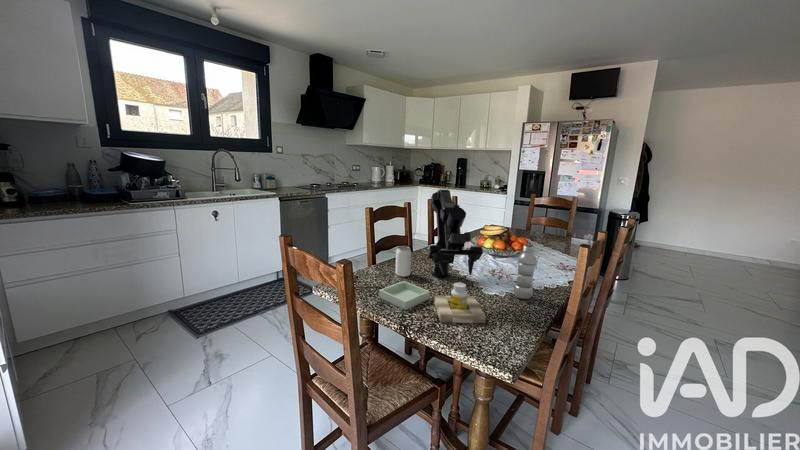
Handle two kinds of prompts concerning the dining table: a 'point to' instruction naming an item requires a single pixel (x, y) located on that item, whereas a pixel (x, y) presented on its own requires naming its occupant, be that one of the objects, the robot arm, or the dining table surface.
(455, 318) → the socket block
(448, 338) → the dining table surface
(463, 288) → the supplement bottle
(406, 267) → the can
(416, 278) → the dining table surface
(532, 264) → the plastic bottle
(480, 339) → the dining table surface
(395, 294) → the tray
